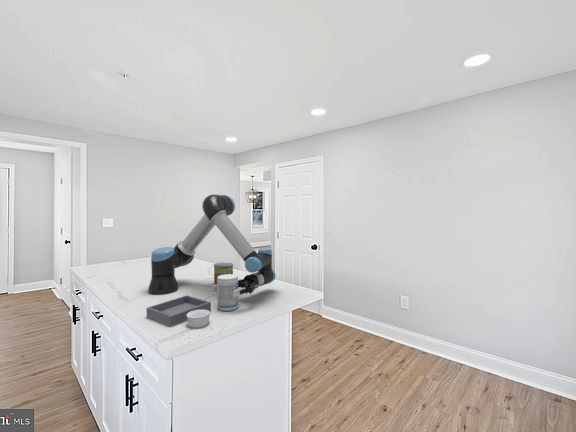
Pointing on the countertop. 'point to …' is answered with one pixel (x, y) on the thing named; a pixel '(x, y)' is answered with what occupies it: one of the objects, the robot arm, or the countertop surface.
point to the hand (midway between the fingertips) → (222, 291)
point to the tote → (176, 309)
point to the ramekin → (198, 318)
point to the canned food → (222, 270)
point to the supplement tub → (227, 292)
